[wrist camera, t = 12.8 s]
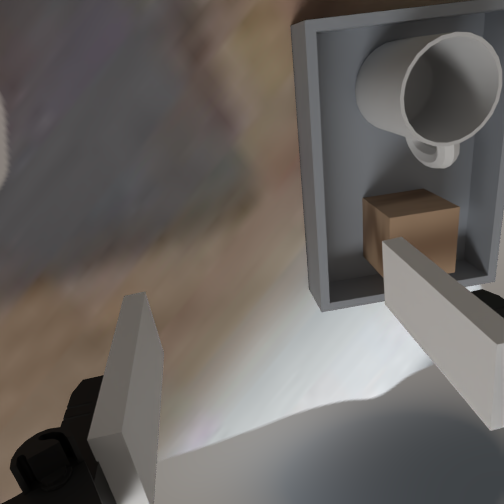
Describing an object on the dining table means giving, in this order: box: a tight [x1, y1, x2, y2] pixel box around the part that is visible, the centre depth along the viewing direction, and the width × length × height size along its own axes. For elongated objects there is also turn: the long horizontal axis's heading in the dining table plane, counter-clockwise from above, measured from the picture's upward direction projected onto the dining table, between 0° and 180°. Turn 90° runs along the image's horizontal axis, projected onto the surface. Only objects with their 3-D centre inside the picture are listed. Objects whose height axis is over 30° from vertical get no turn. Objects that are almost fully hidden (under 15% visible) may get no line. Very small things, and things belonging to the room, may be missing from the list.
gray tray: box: [291, 0, 504, 312], centre depth 39 cm, size 24×17×4 cm
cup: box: [355, 32, 502, 168], centre depth 34 cm, size 7×10×9 cm
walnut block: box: [362, 188, 460, 278], centre depth 40 cm, size 6×6×6 cm
